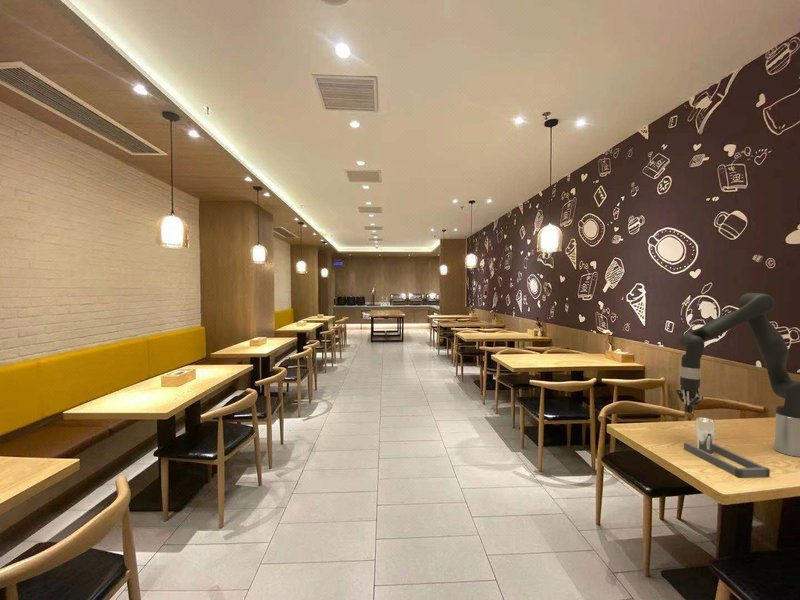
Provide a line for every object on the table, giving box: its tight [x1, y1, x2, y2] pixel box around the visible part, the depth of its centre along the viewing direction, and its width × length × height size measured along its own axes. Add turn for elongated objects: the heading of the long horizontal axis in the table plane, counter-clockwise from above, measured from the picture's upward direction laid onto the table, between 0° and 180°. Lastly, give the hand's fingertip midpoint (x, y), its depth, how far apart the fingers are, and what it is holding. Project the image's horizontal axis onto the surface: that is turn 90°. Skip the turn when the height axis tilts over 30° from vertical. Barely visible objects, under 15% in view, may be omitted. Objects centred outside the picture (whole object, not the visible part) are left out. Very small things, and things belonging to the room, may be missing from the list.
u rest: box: [683, 442, 771, 479], centre depth 155 cm, size 13×26×3 cm, turn 4°
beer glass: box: [695, 416, 717, 456], centre depth 164 cm, size 7×7×15 cm
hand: (688, 412), depth 173 cm, fingers closed
